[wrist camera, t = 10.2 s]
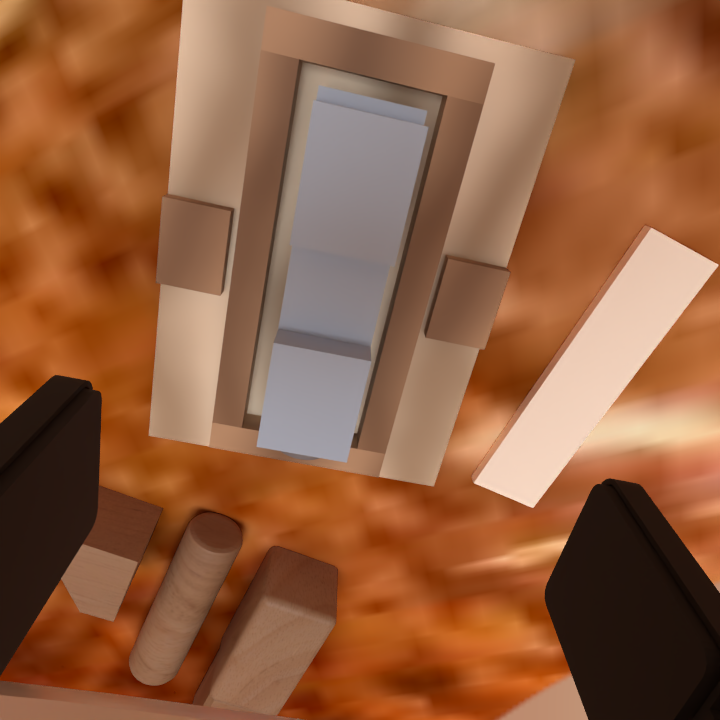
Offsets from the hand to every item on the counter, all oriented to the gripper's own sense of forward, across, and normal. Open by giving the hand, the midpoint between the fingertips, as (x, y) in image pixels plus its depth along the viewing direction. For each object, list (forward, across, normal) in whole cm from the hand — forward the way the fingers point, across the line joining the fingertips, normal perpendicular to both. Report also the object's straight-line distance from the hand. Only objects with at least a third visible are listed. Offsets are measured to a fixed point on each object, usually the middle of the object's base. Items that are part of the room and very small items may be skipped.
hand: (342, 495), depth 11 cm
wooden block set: (+19, +7, +26) cm, 33 cm away
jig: (+18, +1, +1) cm, 18 cm away
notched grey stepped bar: (+18, +1, +1) cm, 18 cm away
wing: (+19, -13, +4) cm, 23 cm away
